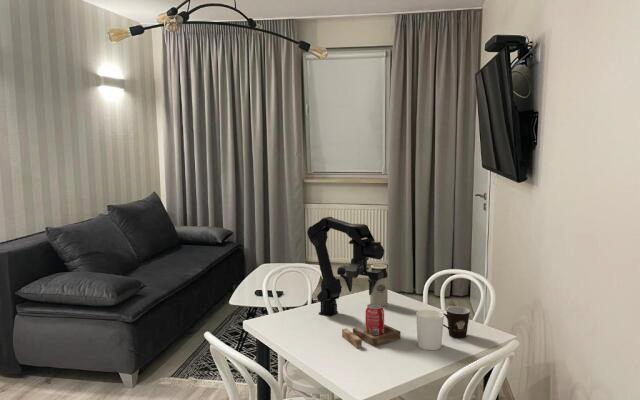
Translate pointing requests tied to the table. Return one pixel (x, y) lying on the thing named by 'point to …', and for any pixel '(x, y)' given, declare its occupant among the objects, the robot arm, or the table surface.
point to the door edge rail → (352, 338)
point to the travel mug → (380, 287)
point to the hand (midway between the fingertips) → (360, 293)
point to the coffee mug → (457, 321)
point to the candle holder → (429, 329)
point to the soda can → (375, 320)
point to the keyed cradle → (388, 336)
